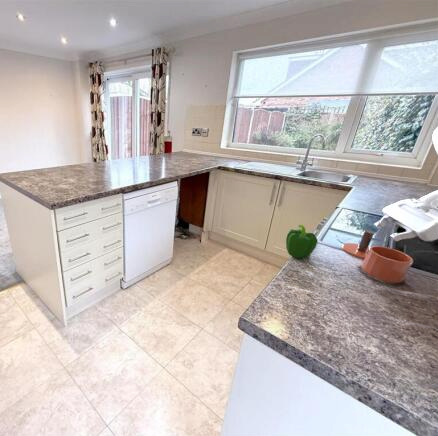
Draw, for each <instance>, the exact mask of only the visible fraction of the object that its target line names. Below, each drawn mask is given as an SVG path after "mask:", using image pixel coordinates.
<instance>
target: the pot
mask: <svg viewBox="0 0 438 436" xmlns="http://www.w3.org/2000/svg"><path fill="white" fill-rule="evenodd" d="M368 247H369V249H368V252H367V254H366V256H365V259H363V261H362V263H361V266H360V268H361V269H362V271H363V272H365V273H366V274H368V275H369V276H372V277H373V278H375V279H378V280H381V281H384V282H388V283H394V284H395V283H402V282H403V281H404V279H405V278H406V276H407V274H408V272H409V270H410V269H411V266H412V265H413V263H414V259H413V258H412V257H411V256H410V255H409V254H407V253H405V252H403V251H400V250H397V249H396V248H395V249H394V248H391V247H388V246H382V245H372V246H368Z"/></svg>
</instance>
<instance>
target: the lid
mask: <svg viewBox="0 0 438 436" xmlns="http://www.w3.org/2000/svg"><path fill="white" fill-rule="evenodd" d="M374 235H375V232H374V231H372V230H367V229H365V230H364V231H363V233H362V236H361V238H360V241H359V243H352V242H347V243H343V245H342V249H343V251H345V252H346V253H348V254H349V255H352V256H354V257H357V258H359V259H362V260H364V259H365V256H366V254H367V252H368V249H369V247H370V244H371V241H372V239H373V238H374Z"/></svg>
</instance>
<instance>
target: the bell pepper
mask: <svg viewBox="0 0 438 436" xmlns="http://www.w3.org/2000/svg"><path fill="white" fill-rule="evenodd" d="M285 239H286V240H285V241H286V242H285V245H286V251H287V253H288V255H289V256H290V257H293V258H296V259H302V258H308V257H310V256H311V254H312V253H313V252H314V250H315V249H316V248H317V244H318V238H317V236H316V235H315V233H313V232H306V227H305V226H304V225H303V224H298V229H292V228H291V229H290V230H289V231H288V233H287V235H286V237H285Z"/></svg>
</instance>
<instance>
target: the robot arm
mask: <svg viewBox="0 0 438 436" xmlns="http://www.w3.org/2000/svg"><path fill="white" fill-rule="evenodd" d="M432 142H433V147H434V150H435V152H436V154H437V155H438V126H437V127H436V128H435V129H434V131H433V134H432ZM381 213H383V216H382V217H381V218H380V219H379V220H378V221H377V222H375V223H374V224H373V225H374V226H375V228H377V229H378V230H379V229H382V228H383V229H384V228H385V225H386V224H387V223H388V224H390V223H392V222H393V223H395V224H397V225H398V226H400V227H401V228H403V229H405V231H403V232H395V233H393V234H391V235H390V238H391V239H392V240H393V241H395V242H399V241H401V240H408V239H414V238H416V237H417V238H419V239H420V240H422V241H424V242H433V241H436V240H438V189H437V190H435V191H432V192H430V193H429V194H427V195H424V196H422V197H420V198H411V199H403V200H399V201H397V202H395V203H393V204H390V205H388V206H386V207H384V208H383V209H382V210H381Z"/></svg>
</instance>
